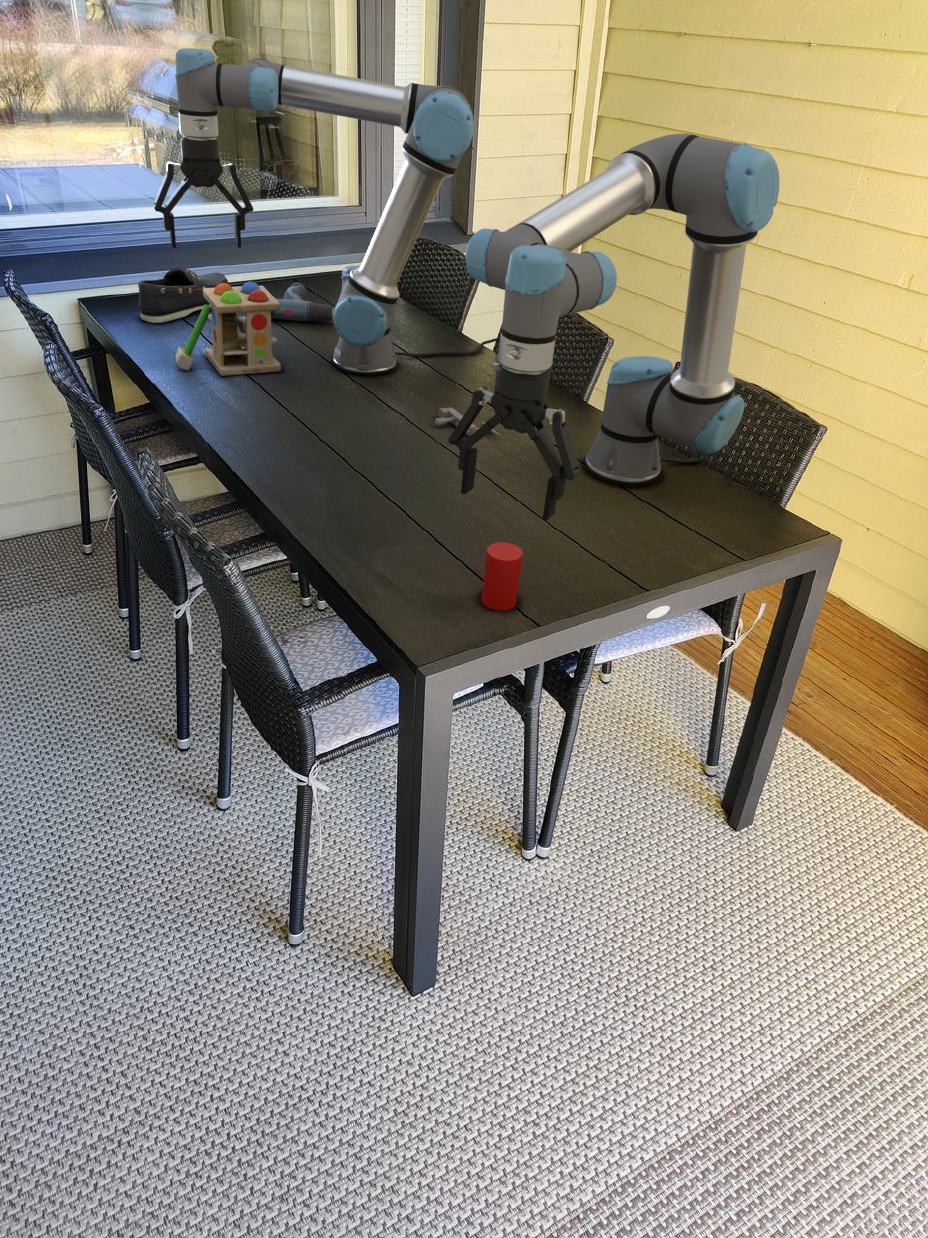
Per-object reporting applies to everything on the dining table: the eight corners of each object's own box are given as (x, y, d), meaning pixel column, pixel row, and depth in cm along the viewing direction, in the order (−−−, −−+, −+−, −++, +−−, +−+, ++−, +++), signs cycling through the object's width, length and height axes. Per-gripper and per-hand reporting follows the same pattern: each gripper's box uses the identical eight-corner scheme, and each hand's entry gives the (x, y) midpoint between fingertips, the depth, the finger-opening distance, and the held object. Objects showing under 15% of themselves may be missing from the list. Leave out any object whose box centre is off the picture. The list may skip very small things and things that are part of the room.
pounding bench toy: (183, 379, 220) (176, 299, 210) (169, 357, 231) (162, 280, 221) (282, 371, 230) (280, 294, 220) (264, 350, 240) (262, 276, 230)
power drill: (344, 304, 276) (335, 327, 259) (277, 298, 275) (264, 321, 258) (344, 285, 273) (335, 306, 256) (277, 279, 272) (264, 300, 255)
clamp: (427, 409, 212) (467, 404, 217) (426, 419, 213) (466, 413, 218) (461, 437, 202) (502, 430, 206) (460, 447, 203) (501, 440, 208)
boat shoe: (248, 301, 272) (246, 262, 267) (158, 325, 248) (153, 283, 243) (214, 293, 278) (211, 255, 272) (123, 315, 254) (117, 274, 248)
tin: (474, 598, 156) (479, 548, 151) (499, 587, 159) (505, 538, 154) (497, 614, 153) (503, 564, 148) (523, 603, 156) (530, 553, 151)
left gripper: (136, 138, 191) (147, 251, 203) (264, 142, 199) (268, 250, 211) (133, 131, 197) (143, 241, 209) (257, 135, 205) (261, 241, 217)
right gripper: (432, 351, 137) (422, 488, 148) (598, 396, 128) (574, 537, 140) (457, 338, 142) (446, 471, 154) (618, 380, 134) (593, 517, 145)
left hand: (206, 246), depth 210 cm, fingers open, 13 cm apart
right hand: (507, 503), depth 147 cm, fingers open, 13 cm apart
